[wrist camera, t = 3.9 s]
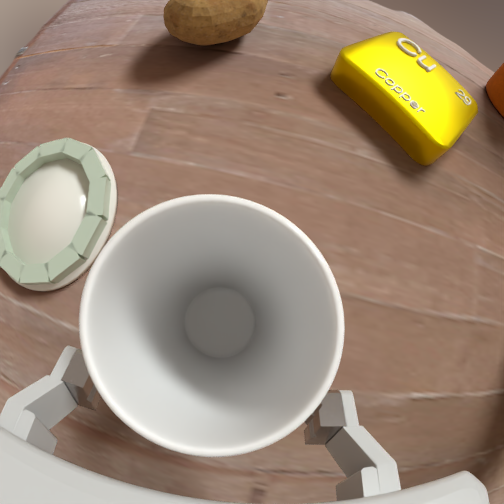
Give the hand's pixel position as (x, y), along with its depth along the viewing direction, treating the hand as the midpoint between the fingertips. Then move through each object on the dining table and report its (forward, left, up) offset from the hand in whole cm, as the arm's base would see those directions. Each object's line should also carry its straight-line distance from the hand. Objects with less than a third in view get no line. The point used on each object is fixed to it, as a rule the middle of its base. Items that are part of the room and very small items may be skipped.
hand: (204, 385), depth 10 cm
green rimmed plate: (+6, -18, -11) cm, 22 cm away
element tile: (-32, -10, -11) cm, 36 cm away
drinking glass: (-2, -2, -11) cm, 11 cm away
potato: (-19, -29, -11) cm, 36 cm away
